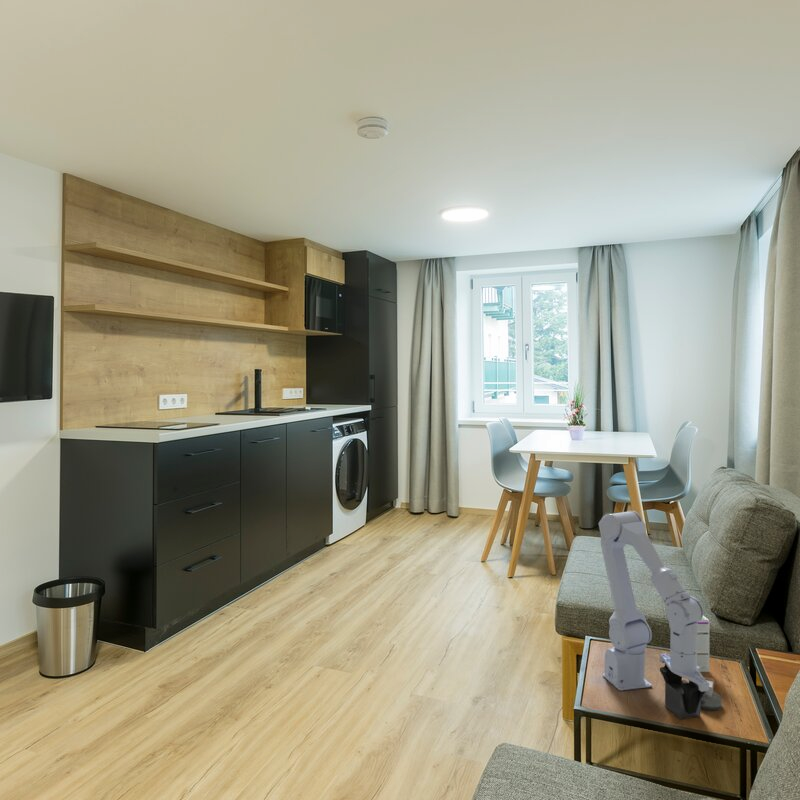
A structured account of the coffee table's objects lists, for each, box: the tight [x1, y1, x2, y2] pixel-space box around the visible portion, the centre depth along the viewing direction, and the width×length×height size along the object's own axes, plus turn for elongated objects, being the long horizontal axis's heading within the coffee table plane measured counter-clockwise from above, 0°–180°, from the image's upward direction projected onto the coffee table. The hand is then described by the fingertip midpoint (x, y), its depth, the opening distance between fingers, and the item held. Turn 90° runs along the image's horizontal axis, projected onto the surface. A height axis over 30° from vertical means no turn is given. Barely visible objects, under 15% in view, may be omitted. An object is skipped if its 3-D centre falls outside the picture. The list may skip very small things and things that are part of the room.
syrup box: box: [695, 615, 710, 673], centre depth 158 cm, size 6×6×14 cm
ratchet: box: [701, 676, 723, 712], centre depth 144 cm, size 14×7×5 cm, turn 147°
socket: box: [664, 679, 702, 720], centre depth 137 cm, size 5×5×6 cm
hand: (682, 705), depth 137 cm, fingers closed on socket, 5 cm apart
